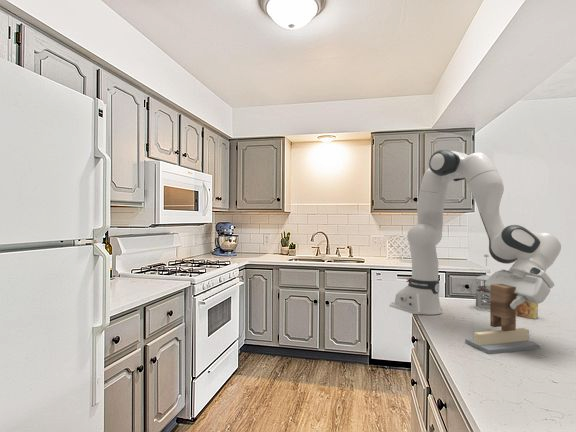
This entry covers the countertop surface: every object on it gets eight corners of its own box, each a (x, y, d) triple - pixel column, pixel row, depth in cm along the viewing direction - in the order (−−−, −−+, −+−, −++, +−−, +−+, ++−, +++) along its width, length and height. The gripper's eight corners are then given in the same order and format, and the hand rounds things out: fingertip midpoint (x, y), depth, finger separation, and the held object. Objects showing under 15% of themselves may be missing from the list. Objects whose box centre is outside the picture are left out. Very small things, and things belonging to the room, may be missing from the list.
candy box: (538, 317, 150) (538, 281, 149) (535, 319, 147) (536, 282, 147) (513, 313, 156) (514, 278, 156) (511, 314, 153) (511, 279, 153)
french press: (501, 312, 157) (502, 255, 157) (473, 310, 159) (473, 255, 159) (493, 306, 167) (494, 253, 166) (466, 305, 169) (467, 252, 169)
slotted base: (488, 354, 110) (489, 338, 110) (465, 342, 120) (465, 328, 120) (539, 348, 115) (540, 333, 115) (513, 337, 125) (513, 324, 125)
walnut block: (504, 331, 114) (504, 287, 114) (490, 326, 119) (490, 284, 119) (515, 330, 115) (515, 287, 115) (501, 325, 120) (501, 283, 120)
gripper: (494, 263, 129) (471, 291, 126) (548, 272, 109) (523, 306, 107) (504, 275, 130) (482, 303, 128) (559, 286, 110) (534, 319, 108)
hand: (501, 304), depth 117 cm, fingers closed on walnut block, 6 cm apart
